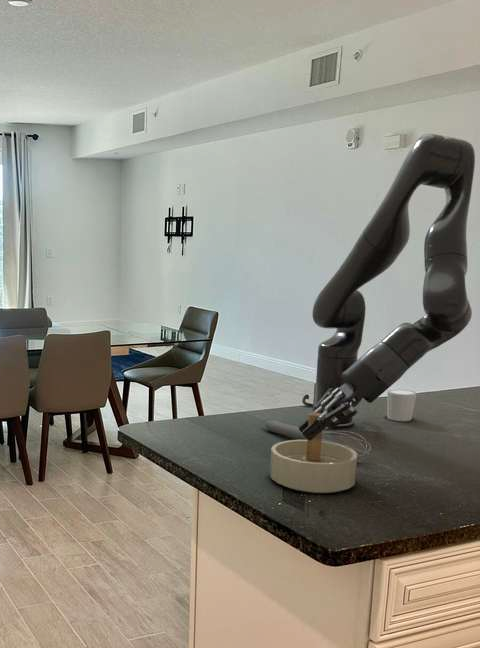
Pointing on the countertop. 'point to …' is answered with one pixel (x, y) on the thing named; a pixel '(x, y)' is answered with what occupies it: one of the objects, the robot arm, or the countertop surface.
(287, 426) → the kitchen whisk
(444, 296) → the robot arm
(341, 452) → the bowl
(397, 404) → the white cup
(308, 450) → the tan wooden post
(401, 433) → the countertop surface
